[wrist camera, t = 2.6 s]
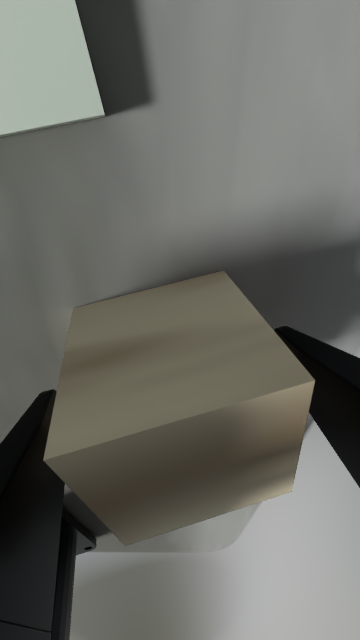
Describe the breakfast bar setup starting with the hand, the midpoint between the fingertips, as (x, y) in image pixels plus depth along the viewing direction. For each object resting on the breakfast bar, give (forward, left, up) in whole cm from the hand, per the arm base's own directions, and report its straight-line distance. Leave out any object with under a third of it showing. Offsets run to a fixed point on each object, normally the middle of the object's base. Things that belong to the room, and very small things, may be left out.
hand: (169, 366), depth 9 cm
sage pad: (+13, +6, -1) cm, 14 cm away
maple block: (0, 0, -1) cm, 1 cm away
